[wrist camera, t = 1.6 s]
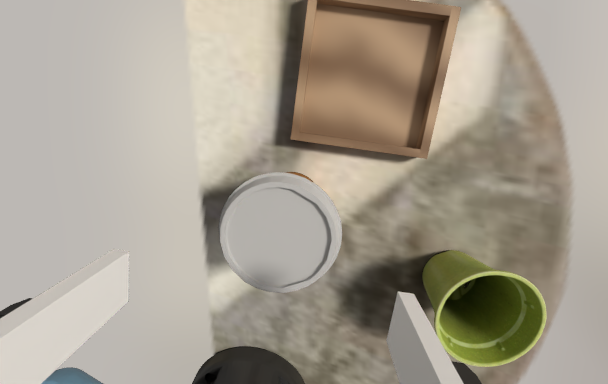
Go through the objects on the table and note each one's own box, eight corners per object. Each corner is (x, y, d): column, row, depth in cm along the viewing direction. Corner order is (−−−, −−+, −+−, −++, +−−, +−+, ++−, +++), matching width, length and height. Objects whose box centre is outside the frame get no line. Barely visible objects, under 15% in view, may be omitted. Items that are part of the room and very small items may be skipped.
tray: (419, 156, 32) (426, 158, 30) (292, 138, 32) (290, 139, 30) (450, 15, 29) (461, 7, 27) (310, -4, 29) (309, -14, 27)
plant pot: (430, 222, 34) (468, 255, 25) (507, 254, 34) (569, 296, 26) (393, 292, 36) (416, 344, 27) (465, 321, 36) (510, 381, 28)
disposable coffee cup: (243, 231, 35) (206, 285, 23) (256, 149, 33) (222, 163, 21) (324, 247, 35) (328, 309, 23) (343, 166, 33) (357, 189, 21)
